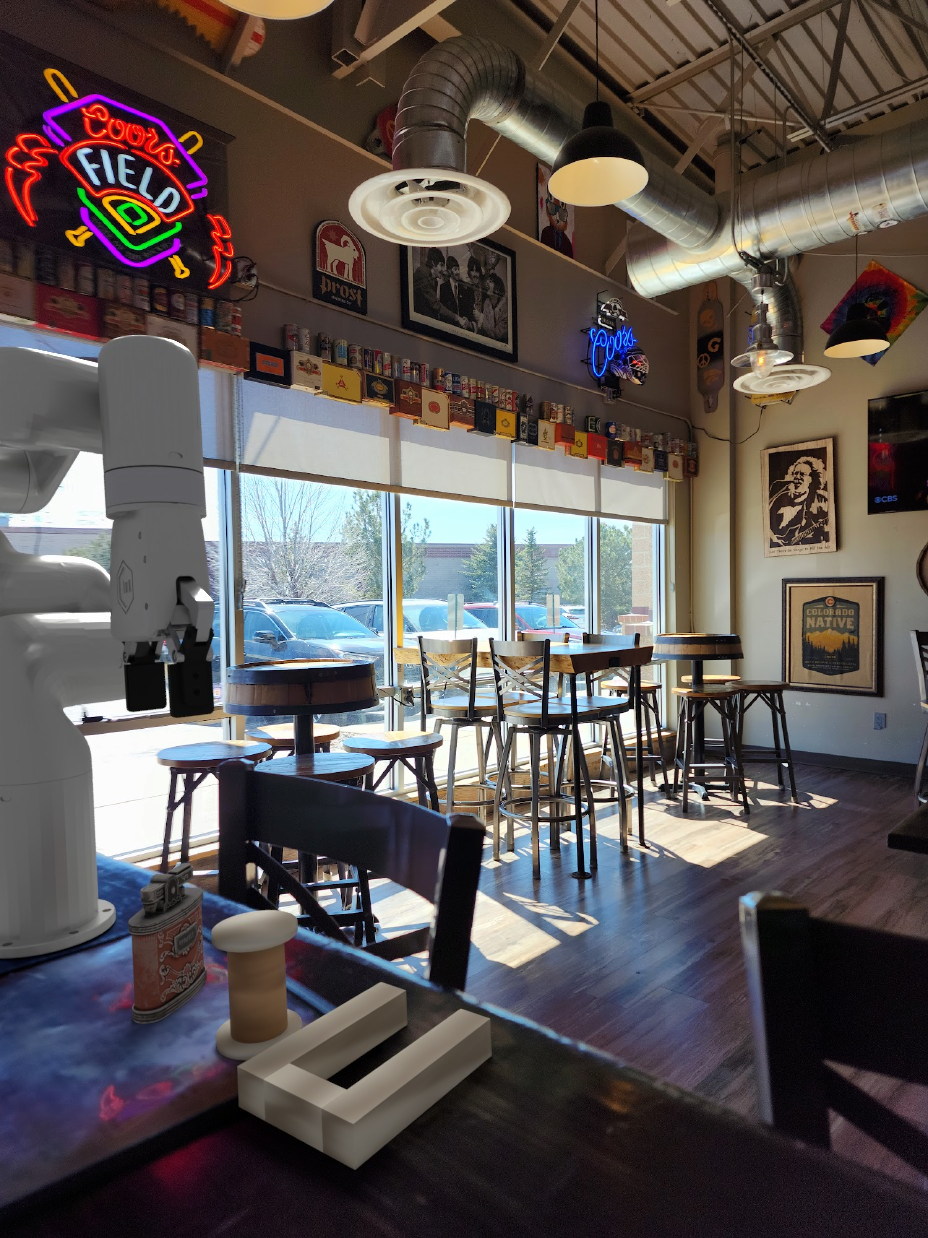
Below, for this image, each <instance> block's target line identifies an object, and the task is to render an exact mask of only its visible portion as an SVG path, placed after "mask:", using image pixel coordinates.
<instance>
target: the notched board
mask: <svg viewBox="0 0 928 1238" xmlns="http://www.w3.org/2000/svg"><path fill="white" fill-rule="evenodd" d="M407 1002H408V1001H407V990H406V989H403V988H400V987H397V986H394V985H392V984H388V983H385V982H382V981H380V982H378V983H376V984H375V985H373V986H372V987H370V988H369V989H366V990H365V991H363V992H361V993H360V994H358V995H356V996H354V997H353V998H351V999H349V1000H348V1001H346V1002H345V1003H343V1004H341V1005H339V1006H338V1007H336V1008H334V1009H332V1010H330V1011H329V1012H327V1013H326V1014H324V1015H322V1016H321V1017H319V1018H317V1019H315V1020H314V1021H312V1022H310V1023H308V1024H307V1025H306V1026H302V1029H300V1030H298V1031H297V1032H295V1033H293V1034H291V1035H290V1036H288V1037H286V1038H285V1039H283V1040H281V1041H280V1042H278V1043H276V1044H274V1045H273V1046H271V1047H269V1048H268V1049H266V1050H264V1051H263V1052H261V1053H259V1054H257V1055H256V1056H254V1057H252V1058H251V1059H249V1060H245V1061H244V1062H242V1063H240V1064H239V1065H237V1066H236V1068H237V1069H236V1070H237V1072H236V1073H237V1091H238V1092H237V1094H238V1107H239V1108H240V1109H242V1110H244V1111H246V1112H247V1113H249V1114H251V1115H253V1116H256V1117H257V1118H259V1119H261V1120H263V1121H264V1122H266V1123H268V1124H270V1125H272V1126H274V1127H275V1128H277V1129H279V1130H281V1131H283V1132H285V1133H286V1134H289V1135H291V1136H292V1137H294V1138H296V1139H297V1140H299V1141H301V1142H304V1143H305V1144H307V1145H309V1146H310V1147H312V1148H314V1149H316V1150H318V1151H319V1152H322V1153H323V1154H325V1155H327V1156H329V1157H331V1158H332V1159H334V1160H336V1161H338V1162H340V1163H342V1164H343V1165H345V1166H347V1167H349V1168H351V1169H353V1170H354V1171H355V1170H357V1169H358V1168H359V1167H361V1166H362V1165H363V1164H364V1163H365V1162H366V1161H368V1160H369V1159H370V1158H371V1157H373V1155H375V1154H376V1153H377V1152H378V1151H380V1150H381V1149H382V1148H384V1146H386V1145H387V1144H388V1143H389V1142H390V1141H392V1140H393V1139H394V1138H395V1137H396V1136H397V1135H399V1134H400V1133H401V1132H403V1130H404V1129H406V1128H407V1127H408V1126H409V1125H411V1124H412V1123H413V1122H415V1120H417V1118H419V1117H420V1116H421V1115H423V1114H424V1113H425V1112H426V1111H427V1110H428V1109H430V1108H431V1107H432V1106H433V1105H435V1103H437V1102H438V1101H440V1100H441V1099H442V1098H443V1097H444V1096H445V1095H447V1094H448V1093H449V1092H450V1091H451V1090H452V1089H454V1088H455V1087H456V1086H458V1084H459V1083H461V1082H462V1081H463V1080H464V1079H465V1078H467V1077H468V1076H469V1075H470V1074H471V1073H473V1072H474V1071H476V1069H477V1068H479V1067H480V1066H481V1065H482V1064H483V1063H484V1062H486V1061H487V1060H488V1059H490V1058H491V1057H492V1056H493V1055H492V1053H493V1052H492V1051H493V1050H492V1032H491V1029H492V1028H491V1018H489V1017H486V1016H483V1015H480V1014H477V1013H475V1012H472V1011H469V1010H466V1009H462V1008H460V1009H458V1010H457V1011H455V1012H453V1014H451V1015H450V1016H448V1017H447V1018H446V1019H444V1020H443V1021H441V1022H440V1023H438V1024H437V1025H436V1026H434V1027H432V1028H431V1029H430V1030H428V1031H427V1032H426V1033H424V1034H423V1035H422V1036H419V1038H418V1039H416V1040H414V1041H413V1042H411V1044H409V1045H408V1046H406V1047H405V1048H403V1049H402V1050H401V1051H399V1052H398V1053H397V1054H395V1055H394V1056H392V1057H390V1058H389V1059H388V1060H387V1061H385V1062H384V1063H382V1064H381V1065H380V1066H378V1067H377V1068H375V1069H374V1070H372V1071H371V1072H370V1073H368V1074H367V1075H366V1076H364V1077H362V1078H361V1079H360V1080H359V1081H357V1082H356V1083H354V1084H353V1085H351V1086H350V1087H349V1088H347V1089H346V1088H344V1087H341V1086H339V1085H337V1084H335V1083H334V1082H333V1083H332V1082H330V1081H329V1080H328V1079H329V1078H331V1077H332V1076H334V1075H335V1074H336V1073H338V1072H340V1071H341V1070H342V1069H344V1068H346V1067H347V1066H349V1065H350V1064H351V1063H354V1061H356V1060H357V1059H359V1058H361V1056H363V1055H365V1054H366V1053H367V1052H369V1051H371V1050H372V1049H373V1048H375V1047H376V1046H378V1045H380V1044H381V1043H383V1042H384V1041H385V1040H387V1039H388V1038H390V1037H391V1036H393V1035H394V1034H396V1033H397V1032H398V1031H400V1030H401V1029H403V1028H404V1027H406V1026H407V1025H408V1008H407V1007H408V1005H407V1004H408V1003H407Z"/></svg>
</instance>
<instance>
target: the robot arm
mask: <svg viewBox="0 0 928 1238" xmlns="http://www.w3.org/2000/svg"><path fill="white" fill-rule="evenodd" d="M200 396H201V395H200V375H199V369H198V364H197V360H196V358H195V356H194V354H192V352H191V351H190V349H189V348H187V347H186V346H184V345H183V344H182V343H179V342H177V341H175V340H173V339H171V338H169V339H168V338H165V337H161V336H157V335H155V336H154V335H144V334H143V335H142V334H137V335H136V334H135V335H133V334H132V335H124V336H120V337H116V338H113V339H110V340H109V341H107V342H106V343H105V344H104V345H102V347H101V348H100V351H99V352H98V356H97V362H94V361H90V360H86V359H85V360H84V359H80V358H77V357H72V356H69V355H65V354H60V353H59V354H58V353H55V352H54V353H53V352H49V351H44V350H39V349H34V348H29V347H21V346H0V514H1V513H2V514H13V515H14V514H15V515H27V514H34V513H37V512H39V511H41V510H42V509H43V510H44V509H45V507H46V506H47V505H48V504H49V503H50V502H51V500H52V499H53V498H54V496H55V495H56V493H57V491H58V489H59V487H60V486H61V484H62V483H63V480H64V479H65V477H66V476H67V474H68V472H69V471H70V469H71V468H72V466H73V465H74V462H75V461H76V459H77V458H78V456H79V454H80V452H84V453H85V452H86V453H92V454H97V455H102V469H103V486H104V489H103V491H104V507H105V518H106V519H109V520H111V521H112V525H111V526H112V527H111V536H110V548H109V549H110V551H109V571H108V570H107V569H106V568H105V567H104V566H102V565H101V564H99V563H98V562H96V561H94V560H91V559H89V558H86V557H81V556H72V555H50V554H49V555H48V554H33V553H24V552H20V551H18V550H17V549H15V547H14V546H13V545H12V543H11V541H10V540H9V539H8V537H7V535H6V534H5V533H4V532H3V531H2V530H1V529H0V959H18V958H29V957H35V956H41V955H45V954H50V953H54V952H59V951H61V950H62V951H63V950H65V949H69V948H71V947H74V946H77V945H80V944H81V945H82V943H85V942H87V941H91V940H92V939H94V938H96V937H98V936H99V935H101V934H103V933H104V932H106V931H108V929H110V928H111V927H112V926H113V924H114V923H115V921H116V919H117V917H116V913H117V912H116V907H115V905H114V904H113V903H111V902H109V901H107V900H105V899H100V898H99V886H98V866H97V865H98V864H97V862H98V861H97V845H96V844H97V843H96V824H95V823H96V822H95V821H96V820H95V800H94V799H95V798H94V780H93V778H94V775H93V761H92V760H93V759H92V752H91V747H90V745H89V742H88V740H87V739H86V737H85V735H84V734H83V732H81V730H80V729H79V728H78V727H77V725H75V723H74V722H73V721H72V720H71V719H70V718H69V717H68V716H67V714H66V712H65V711H64V709H65V708H69V707H75V706H79V705H90V704H97V703H99V704H100V703H106V702H114V701H115V702H116V701H121V700H122V701H123V700H125V708H126V710H127V712H129V713H137V712H145V711H146V712H147V711H156V710H163V709H165V708H166V707H167V705H168V704H169V715H170V716H171V718H174V719H181V718H189V717H197V716H198V717H199V716H205V715H211V714H213V712H214V711H215V698H214V682H213V681H214V678H213V667H212V666H213V665H212V664H213V663H212V662H213V660H214V659H213V658H214V649H213V647H212V642H213V639H214V637H215V633H214V632H215V629H213V622H214V615H215V609H216V606H215V605H216V604H215V601H214V600H213V599H212V598H211V585H210V575H209V564H208V556H207V549H206V548H207V547H206V541H205V534H204V528H203V523H202V521H203V520H202V519H206V518H207V517H208V516H207V502H206V485H205V483H206V482H205V480H206V479H205V471H204V470H205V469H204V467H205V465H204V451H203V448H204V447H203V433H202V417H201V415H202V413H201V412H202V411H201V397H200ZM181 640H182V641H181ZM164 642H165V645H166V648H167V650H168V654H169V656H170V658H171V661H172V663H170V664H169V663H168V664H166V665H165V661H160V659H161V654H162V651H163V647H164ZM166 669H167V670H166ZM166 671H167V679H166ZM166 680H167V681H166ZM166 682H167V684H168V685H167V684H166ZM167 687H168V688H167ZM167 689H168V697H167ZM168 700H169V701H168ZM167 701H168V702H167Z"/></svg>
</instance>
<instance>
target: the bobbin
mask: <svg viewBox="0 0 928 1238" xmlns="http://www.w3.org/2000/svg"><path fill="white" fill-rule="evenodd" d="M297 918H298V917H296V915H294V914H292V913H291V912H288V911H284V910H283V911H282V910H278V909H277V910H276V909H272V910H271V909H265V910H255V911H254V910H253V911H248V912H244V913H238V914H236V915H233V916H230V917H227V918H226V919H223V920H220V922H218V923H217V924H215V925H214V926H213V928H212V929H211V932H210V933H211V944H212V945H213V947H214V948H216V949H217V950H220V951H223V952H224V951H225V952H226V960H227V961H226V962H227V963H226V964H227V981H228V982H227V984H228V1004H229V1006H228V1009H229V1019H227V1020H226V1021H224V1023H223V1024H221V1025H220V1026H219V1028H218V1029H217V1031H216V1034H215V1045H216V1046H215V1047H216V1050H217V1052H218V1053H219V1054H220V1055H222V1057H225V1058H228V1059H230V1060H236V1061H247V1060H249V1059H251V1058H252V1057H254V1056H256V1055H257V1054H259V1053H261V1052H263V1051H264V1050H266V1049H268V1048H269V1047H271V1046H273V1045H274V1044H276V1043H278V1042H280V1041H281V1040H283V1039H285V1038H286V1037H288V1036H290V1035H291V1034H293V1033H295V1032H297V1031H298V1030H300V1029H302V1028H303V1020H302V1017H301V1016H300V1015H299V1014H298V1013H297V1012H296V1011H293V1010H292V1009H289V1008H288V999H287V998H288V997H287V973H286V953H285V951H286V950H285V949H286V948H285V943H286V942H288V941H290V940H291V939H292V938H294V937H295V935H297V933H298V932H299V931H298V930H299V928H298V927H299V926H298V919H297Z"/></svg>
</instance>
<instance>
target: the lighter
mask: <svg viewBox="0 0 928 1238" xmlns="http://www.w3.org/2000/svg"><path fill="white" fill-rule="evenodd" d="M193 879H194V866H193V865H191V863H189V862H187V863H186V862H184V863H183V862H182V863H181V864H179V865H177V866H176V867H174V868H172V869H170V870H168V871H167V873H163V874H162V873H156V874H153V875H152V876H151V878H150V881H149V883H148V884H147V885H145V886H144V887H142V888H141V889H140V903H141V904H142V908H141V909H139V910H138V911H137V912H136V913H135V914H134V915H133V916H131V917H130V918H129V919H128V922H127V925H128V927H127V929H128V932H129V934H131V951H132V952H131V953H132V956H131V957H132V972H133V976H132V977H133V994H134V997H133V998H134V1003H133V1004H132V1007H131V1015H132V1020H133V1022H135V1023H137V1024H152V1023H156V1022H159V1021H162V1020H163V1019H165V1018H167V1017H168V1016H170V1015H171V1014H173V1013H174V1012H176V1011H177V1010H178V1009H180V1008H181V1007H182V1006H184V1005H185V1004H186V1003H187V1002H189V1001H190V1000H191V999H192V998H193V997H194V996H195V995H197V993H198V992H199V991H200V990H201V988H203V986H204V984H205V983H206V982H207V981H208V980H207V979H208V975H207V974H208V972H207V971H208V970H207V969H208V968H207V967H206V965H205V961H204V960H205V959H204V958H205V956H204V937H203V936H204V935H203V913H202V911H203V909H202V902H203V901H204V890H203V889H202V888H200V887H185V886H184V885H185V884H187V883H188V882H190V881H191V880H193Z"/></svg>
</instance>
